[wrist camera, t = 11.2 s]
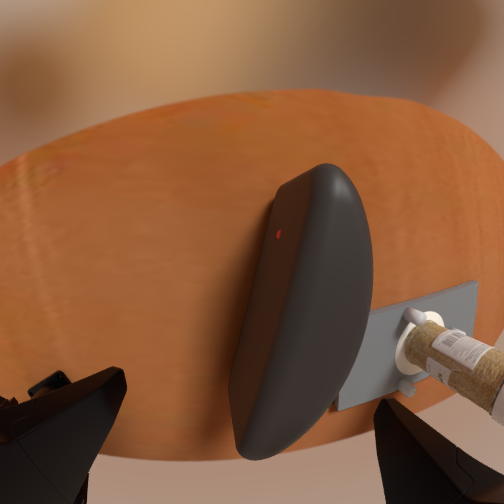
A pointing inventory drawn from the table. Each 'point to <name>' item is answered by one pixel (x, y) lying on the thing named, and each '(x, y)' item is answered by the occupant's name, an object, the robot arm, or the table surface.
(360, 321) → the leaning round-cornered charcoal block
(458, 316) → the pin board
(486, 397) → the sprinkles bottle
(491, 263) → the table surface
